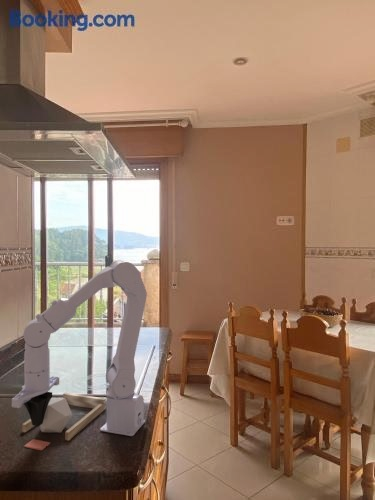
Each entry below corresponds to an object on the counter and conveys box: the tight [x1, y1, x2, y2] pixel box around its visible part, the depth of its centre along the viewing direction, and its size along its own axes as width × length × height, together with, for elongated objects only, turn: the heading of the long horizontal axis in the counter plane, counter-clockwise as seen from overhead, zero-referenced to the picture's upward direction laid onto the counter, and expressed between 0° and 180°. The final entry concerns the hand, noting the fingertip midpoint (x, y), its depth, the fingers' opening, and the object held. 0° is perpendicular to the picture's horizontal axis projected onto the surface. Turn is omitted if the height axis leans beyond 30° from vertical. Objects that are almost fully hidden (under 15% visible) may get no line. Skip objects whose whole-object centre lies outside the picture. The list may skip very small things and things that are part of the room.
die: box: [38, 397, 73, 434], centre depth 93 cm, size 8×9×10 cm
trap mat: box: [23, 438, 51, 451], centre depth 86 cm, size 5×3×1 cm, turn 73°
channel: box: [21, 392, 107, 441], centre depth 98 cm, size 14×18×3 cm
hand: (37, 424), depth 87 cm, fingers closed
